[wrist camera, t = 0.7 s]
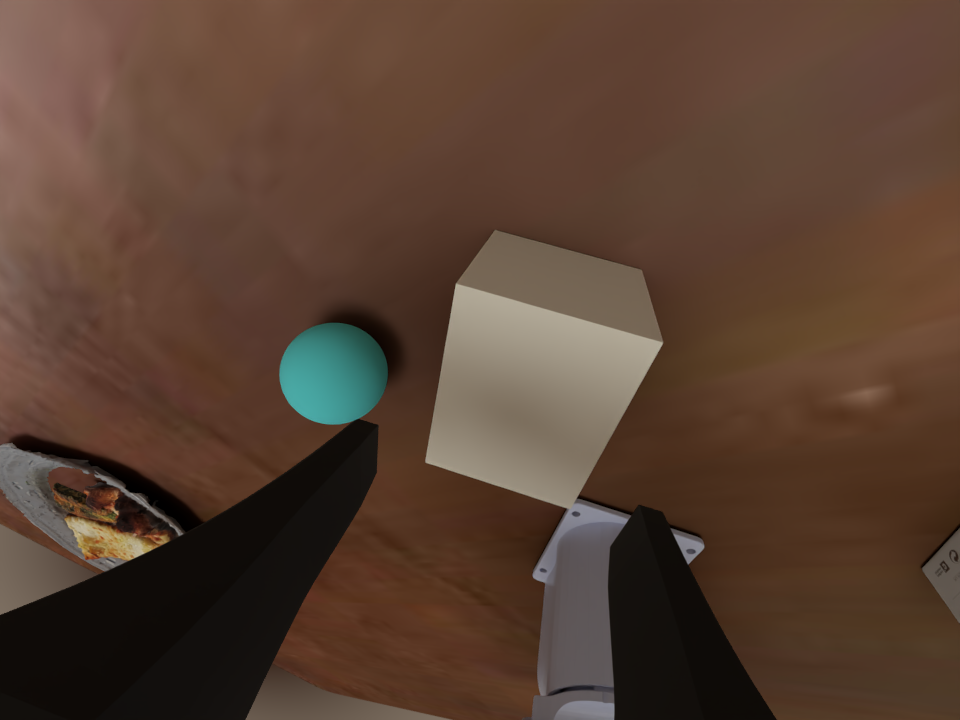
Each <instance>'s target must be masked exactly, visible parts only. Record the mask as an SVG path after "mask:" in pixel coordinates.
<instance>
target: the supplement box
mask: <svg viewBox="0 0 960 720" xmlns="http://www.w3.org/2000/svg"><path fill="white" fill-rule="evenodd" d="M922 571H923V572H924V574H925V575H926V576H927V578H928V579H929V581H930V582H931V583H932V585H933V586H934V588H935V589H936V591H937V592H938V593H939V595H940V596H941V598H942V599H943V600H944V602H945V603H946V605H947V606H948V608H949V609H950V610H951V612H952V613H953V615H954V616H955V618H956V619H957V621H958V622H959V624H960V528H959V529H958V530H957V531H956V532H955V534H954V535H953V536H952V537H951V538H950V539H949V540H948V541H947V542H946V543H945V544H944V545H943V546H942V547H941V549H940V550H939V551H938V552H937V553H936V554H935V555H934V556H933V557H932V558H931V559H930V560H929V561H928V563H927V564H926V565H925V566H924V567H923V568H922Z"/></svg>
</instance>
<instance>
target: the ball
mask: <svg viewBox="0 0 960 720" xmlns="http://www.w3.org/2000/svg"><path fill="white" fill-rule="evenodd" d="M387 378H388V367H387V362H386V358H385V355H384V353H383V351H382V349H381V347H380V346H379V344H378V343H377V342H376V341H375V340H374V339H373V338H372V337H371V336H370V335H369V334H367V333H366V332H365V331H363V330H361V329H359V328H357V327H355V326H352V325H348V324H344V323H325V324H320V325H317V326H314V327H311V328H309V329H307V330H305V331H304V332H302V333H301V334H300V335H298V336H297V337H296V338H295V339H294V340H293V341H292V342H291V343H290V345H289V346H288V348H287V349H286V351H285V353H284V355H283V358H282V361H281V365H280V383H281V388H282V391H283V393H284V395H285V397H286V399H287V401H288V402H289V403H290V405H291V406H292V407H293V408H294V409H295V410H296V411H297V412H298V413H300V414H301V415H303V416H304V417H306V418H308V419H310V420H312V421H315V422H318V423H323V424H343V423H348V422H351V421H354V420H356V419H359V418H360V417H362V416H364V415H365V414H367V413H368V412H369V411H370V410H372V409H373V408H374V406H375V405H376V404H377V403H378V402H379V400H380V398H381V397H382V395H383V393H384V390H385V388H386V385H387Z"/></svg>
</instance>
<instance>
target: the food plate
mask: <svg viewBox="0 0 960 720" xmlns="http://www.w3.org/2000/svg"><path fill="white" fill-rule="evenodd" d="M14 448H16V449H14ZM88 461H89V460H78V459H67V458H61V457H57V456H55V455H52V454H51V455H46V454H42V453H41V452H37V453H36V452H34V453H33V452H31V450H28V451H22V450H20V449H18V448H17V447H16V446H15V445H14V444H13V443H9V444H1V445H0V489H2V490H3V491H4V493H5V494H6V498H7V499H8V500H9V501H10V502H11V503H13V505H14V506H16V508H18V510H20V511H22V513H24V515H23V516H26V517H27V518H28V520H29V521H30V522H31V523H33V524H34V525H35V526H37V527H39V528H40V529H41V530H43V532H45V533H46V534H48V536H50V537H51V538H53V539H54V540H55V541H56V542H58V543H59V544H60V545H61V546H63V547H64V548H66V549H67V550H69V551H70V552H72V553H73V554H75V555H77V556H78V557H80V558H81V559H83V560H85V561H86V562H87V563H90V564H91V565H93V566H95V567H97V568H99V569H101V570H103V571H107V570H110V569H112V568H114V567H116V566H118V565H120V564H123V563H125V562H127V561H129V560H131V559H134V558H136V557H138V556H140V555H142V554H144V553H147V552H149V551H151V550H153V549H155V548H157V547H159V546H161V545H163V544H165V543H167V542H169V541H171V540H173V539H174V538H176V537H178V536H180V535H182V534H184V533H186V532H185V531H184V530H183V529H182V528H181V526H180V525H179V523H178V522H177V521H176V519H174V518H173V517H169V516H167V515H166V514H165V511H164V510H163V511H162V510H161V509H160V508H158V507H156V506H155V504H156V502H158V500H156V501H155V502H154V503H153V505H152V506H153V507H151V506H150V505H149V504H148V502H149V501H151V500H150V499H148V496H145V494H142V493H131V492H129V490H127V489H125V487H126V484H124V483H123V482H122V481H120V480H118V479H117V478H116V477H114V476H113V475H111V474H109V473H108V472H106V471H104V470H102V469H101V468H99V467H98V466H93V467H92V466H91V465H90V464H89V463H88ZM57 467H66V468H67V467H70V468H73V467H74V468H75V469H81V470H82V471H83V472H84V473H86V474H89V473H92V474H95V477H98V478H101V479H102V480H105V481H106V482H107V484H105V483H101V482H100V483H99V482H98V484H97V485H96V484H95V486H91V487H90V486H87V487H85V490H84V492H83V493H85V494H83V493H81V492H78V491H76V490H73V489H71V488H68V487H65V486H63V485H60V484H59V483H56V484H54V487H53V489H52V490H53V491H54V492H52V491H51V489H50V486H49V484H48V482H47V481H48V479H47V477H48V473H49V472H50V471H52V470H51V469H54V468H57ZM86 494H87V495H86ZM3 496H4V495H3ZM69 512H70V513H69ZM71 513H73V514H71ZM108 522H113V523H108ZM115 522H117V523H115Z"/></svg>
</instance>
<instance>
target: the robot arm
mask: <svg viewBox="0 0 960 720" xmlns="http://www.w3.org/2000/svg"><path fill="white" fill-rule="evenodd" d="M377 450H378V425H377V424H373V423H370V422H367V421H364V420H360V419H356V420H354V421H353V422H352V423H350V424H349V425H348V426H347V427H345V428H344V429H343V430H342V431H340V432H339V433H338V434H337V435H335V436H334V437H333V438H332V439H330V440H329V441H328V442H326V443H325V444H324V445H322V446H321V447H320V448H318V449H317V450H316V451H314V452H313V453H312V454H310V455H309V456H308V457H306V458H305V459H303V460H302V461H301V462H299V463H298V464H297V465H295V466H294V467H292V468H291V469H290V470H288V471H287V472H285V473H284V474H282V475H281V476H279V477H278V478H276V479H275V480H273V481H272V482H270V483H269V484H267V485H266V486H264V487H263V488H261V489H260V490H258V491H257V492H255V493H254V494H252V495H250V496H249V497H247V498H246V499H244V500H242V501H241V502H239V503H237V504H236V505H234V506H232V507H231V508H229V509H227V510H226V511H224V512H222V513H220V514H219V515H217V516H215V517H213V518H212V519H210V520H208V521H206V522H205V523H203V524H201V525H199V526H197V527H195V528H193V529H192V530H190V531H188V532H186V533H184V534H182V535H180V536H178V537H176V538H174V539H173V540H171V541H169V542H167V543H165V544H163V545H161V546H159V547H157V548H155V549H153V550H151V551H149V552H147V553H144V554H142V555H140V556H138V557H136V558H134V559H131V560H129V561H127V562H125V563H123V564H120V565H118V566H116V567H114V568H112V569H110V570H107V571H105V572H103V573H101V574H99V575H96V576H94V577H92V578H90V579H88V580H85V581H83V582H81V583H78V584H76V585H74V586H71V587H69V588H66V589H64V590H61V591H59V592H56V593H54V594H51V595H49V596H46V597H44V598H41V599H39V600H37V601H34V602H31V603H29V604H27V605H24V606H22V607H19V608H17V609H14V610H12V611H9V612H7V613H4V614H1V615H0V720H245V719H246V717H247V715H248V713H249V711H250V709H251V707H252V704H253V702H254V700H255V698H256V696H257V694H258V692H259V689H260V687H261V685H262V683H263V681H264V679H265V677H266V675H267V673H268V671H269V669H270V666H271V665H272V663H273V661H274V658H275V656H276V654H277V652H278V650H279V648H280V646H281V644H282V642H283V640H284V638H285V636H286V634H287V632H288V630H289V628H290V626H291V624H292V622H293V620H294V618H295V616H296V614H297V612H298V610H299V608H300V607H301V605H302V603H303V601H304V599H305V597H306V595H307V593H308V592H309V590H310V588H311V586H312V585H313V583H314V581H315V580H316V578H317V576H318V575H319V573H320V572H321V570H322V568H323V567H324V565H325V563H326V562H327V560H328V559H329V557H330V555H331V554H332V552H333V551H334V549H335V547H336V546H337V544H338V543H339V541H340V539H341V538H342V536H343V534H344V533H345V531H346V530H347V528H348V526H349V525H350V523H351V521H352V520H353V518H354V517H355V515H356V513H357V512H358V510H359V508H360V507H361V505H362V503H363V501H364V498H365V496H366V494H367V492H368V490H369V488H370V486H371V484H372V482H373V479H374V477H375V475H376V473H377ZM703 549H704V543H703V540H702V539H701V538H699V537H696V536H693V535H690V534H687V533H684V532H681V531H678V530H675V529H672V528H670V526H669V524H668V522H667V520H666V518H665V516H664V514H663V512H661V511H658V510H654V509H651V508H648V507H645V506H641V505H638V507H637V508H636V509H635V511H634V512H633V514H632V515H628V514H625V513H622V512H619V511H616V510H612V509H609V508H606V507H603V506H600V505H597V504H594V503H591V502H588V501H584V500H581V499H576V500H575V502H574V504H573V506H572V508H571V509H567V510H566V512H565V513H564V515H563V517H562V519H561V521H560V523H559V524H558V526H557V528H556V530H555V532H554V534H553V535H552V537H551V539H550V541H549V543H548V544H547V546H546V548H545V550H544V552H543V554H542V555H541V557H540V559H539V561H538V563H537V565H536V566H535V568H534V570H533V578H535V579H536V580H538V581H541V582H544V583H545V591H544V602H543V613H542V623H541V634H540V644H539V655H538V666H537V677H538V685H539V690H540V694H541V696H539V695H535V696H534V700H533V710H532V718H531V717H526V718H523V719H522V720H777V719H776V718H775V716H774V715H773V713H772V712H771V710H770V709H769V707H768V706H767V704H766V702H765V701H764V699H763V698H762V696H761V695H760V693H759V692H758V690H757V688H756V687H755V685H754V684H753V682H752V680H751V679H750V677H749V675H748V674H747V672H746V670H745V669H744V667H743V665H742V664H741V662H740V660H739V658H738V657H737V655H736V653H735V652H734V650H733V648H732V646H731V645H730V643H729V641H728V639H727V638H726V636H725V634H724V632H723V630H722V629H721V627H720V625H719V623H718V621H717V620H716V618H715V616H714V614H713V612H712V610H711V608H710V606H709V604H708V603H707V601H706V599H705V597H704V595H703V593H702V591H701V589H700V587H699V585H698V583H697V581H696V579H695V577H694V575H693V573H692V571H691V569H690V567H689V565H688V564H689V563H690V562H691V561H692V560H693V559H694V558H695V557H696V556H697V555H698V554H699V553H700V552H701V551H702V550H703Z"/></svg>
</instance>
